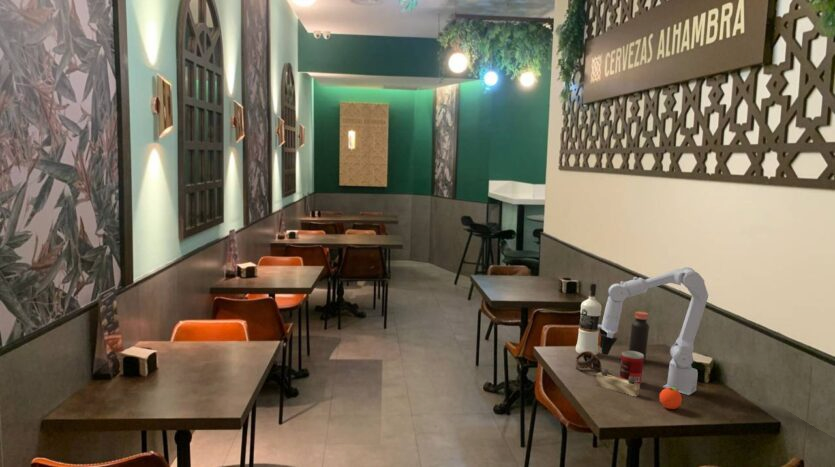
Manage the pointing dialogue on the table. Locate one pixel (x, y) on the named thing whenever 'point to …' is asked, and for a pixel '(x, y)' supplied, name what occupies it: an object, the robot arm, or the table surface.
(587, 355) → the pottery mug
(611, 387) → the maple stop bar
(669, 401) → the clementine
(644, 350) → the bottle
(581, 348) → the vodka
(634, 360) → the canned food
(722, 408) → the table surface
